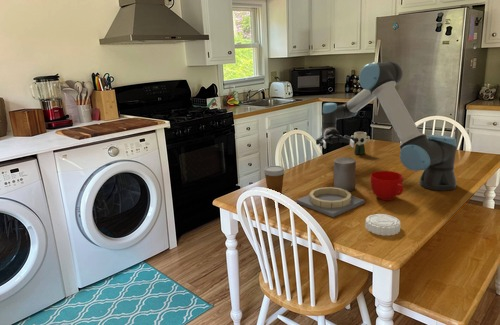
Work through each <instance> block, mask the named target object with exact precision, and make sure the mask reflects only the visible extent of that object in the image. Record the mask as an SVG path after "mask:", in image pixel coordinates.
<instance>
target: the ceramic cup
mask: <svg viewBox="0 0 500 325" xmlns="http://www.w3.org/2000/svg"><path fill="white" fill-rule="evenodd" d="M403 180H404V176H403V175H402V174H401V173H399V172H397V171H396V172H395V171H390V170H377V171H373V172H372V173H371V174H370V186H371V190H372V192H373V194H374V195H375V196H376V197H377V199H379V200H383V201H391V200H394V198H395V197H397V196H400V195H401V194H403V191H404V187H403Z"/></svg>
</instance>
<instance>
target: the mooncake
mask: <svg viewBox="0 0 500 325" xmlns="http://www.w3.org/2000/svg"><path fill="white" fill-rule="evenodd" d="M364 226H365V229H366V230H367V231H368V232H369V233H370V232H371V233H372V234H375V235H379V236H380V235H381V236H383V237H385V236H387V237H388V236H395V235H397V234H399V233H400V232H401V221H400V219H398V218H397V217H395V216H393V215H389V214H386V213H376V214H370V215H368V216H367V217H366V218H365V225H364Z"/></svg>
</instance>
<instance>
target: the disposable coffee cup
mask: <svg viewBox="0 0 500 325" xmlns="http://www.w3.org/2000/svg"><path fill="white" fill-rule="evenodd" d="M285 172H286V171H285V168H284V167H283V166H281V165H269V166H266V167H264V170H263V174H264V176H265V183H266V189H267V188H269V189H272V190H275V191H277V192H280V193H283V184H284V175H285V174H284V173H285Z"/></svg>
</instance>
